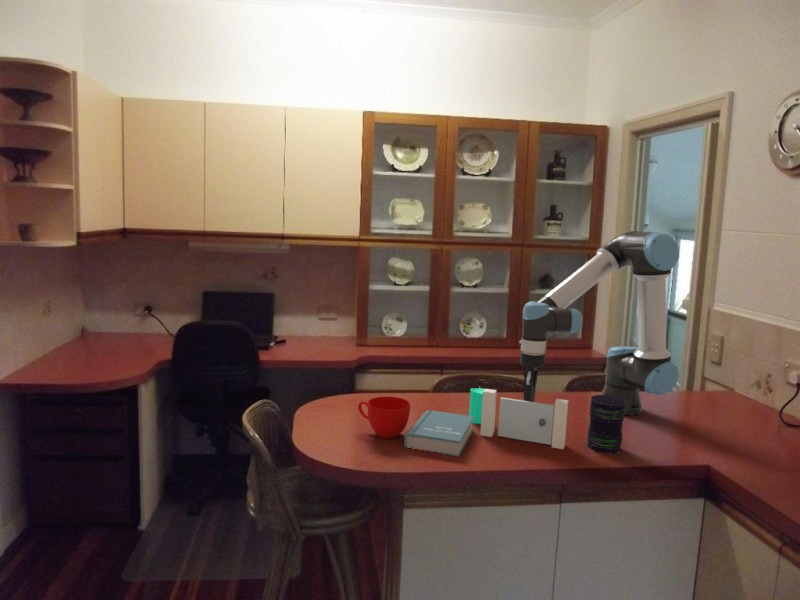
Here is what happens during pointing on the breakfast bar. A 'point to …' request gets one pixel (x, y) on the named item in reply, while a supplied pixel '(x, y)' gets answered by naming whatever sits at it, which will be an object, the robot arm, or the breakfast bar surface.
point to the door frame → (558, 424)
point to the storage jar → (606, 423)
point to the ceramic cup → (387, 415)
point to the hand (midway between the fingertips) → (527, 425)
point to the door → (525, 420)
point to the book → (440, 432)
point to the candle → (476, 404)
